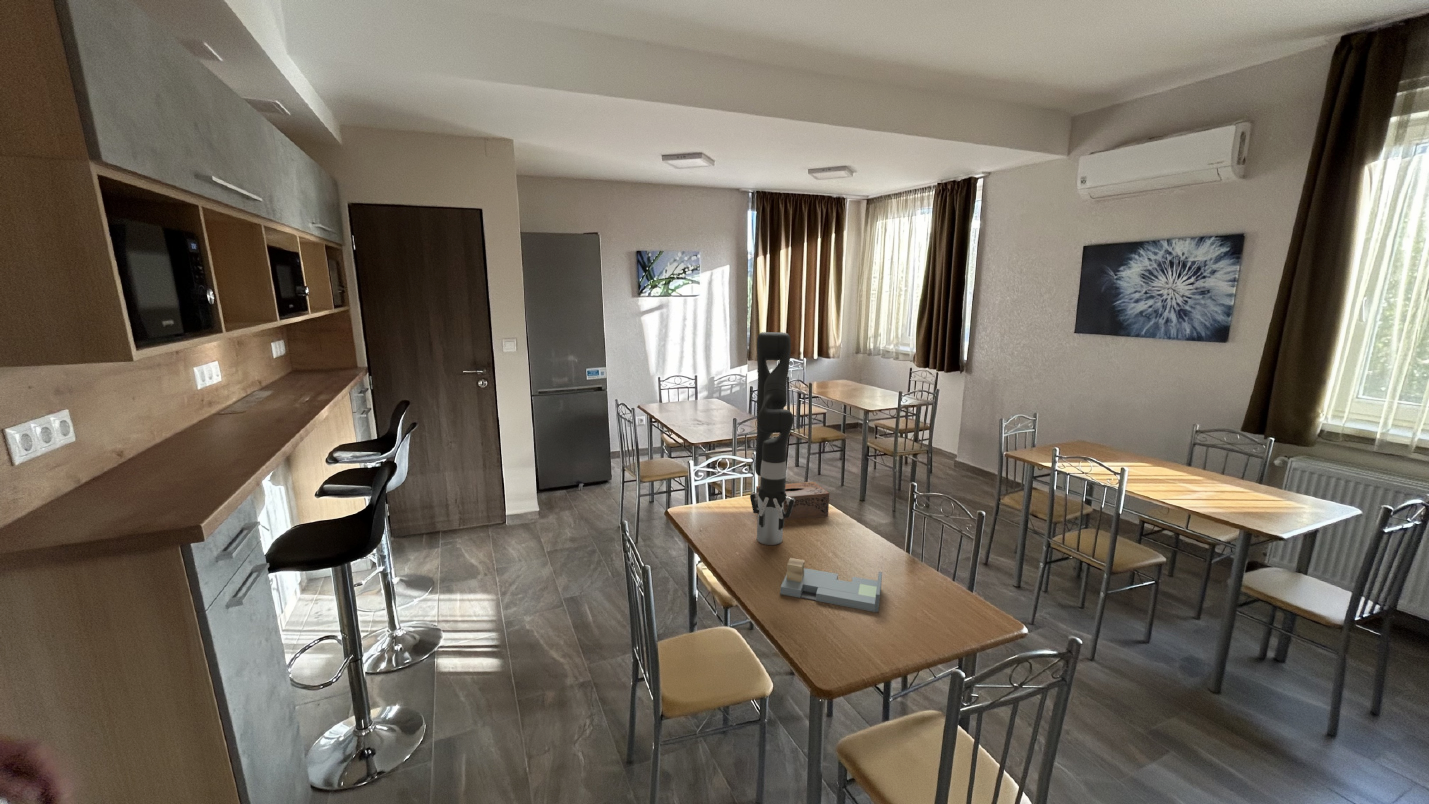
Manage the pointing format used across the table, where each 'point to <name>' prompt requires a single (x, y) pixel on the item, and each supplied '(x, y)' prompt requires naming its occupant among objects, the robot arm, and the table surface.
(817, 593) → the plate
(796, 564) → the beech block
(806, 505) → the tissue box cover
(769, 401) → the robot arm
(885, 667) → the table surface
